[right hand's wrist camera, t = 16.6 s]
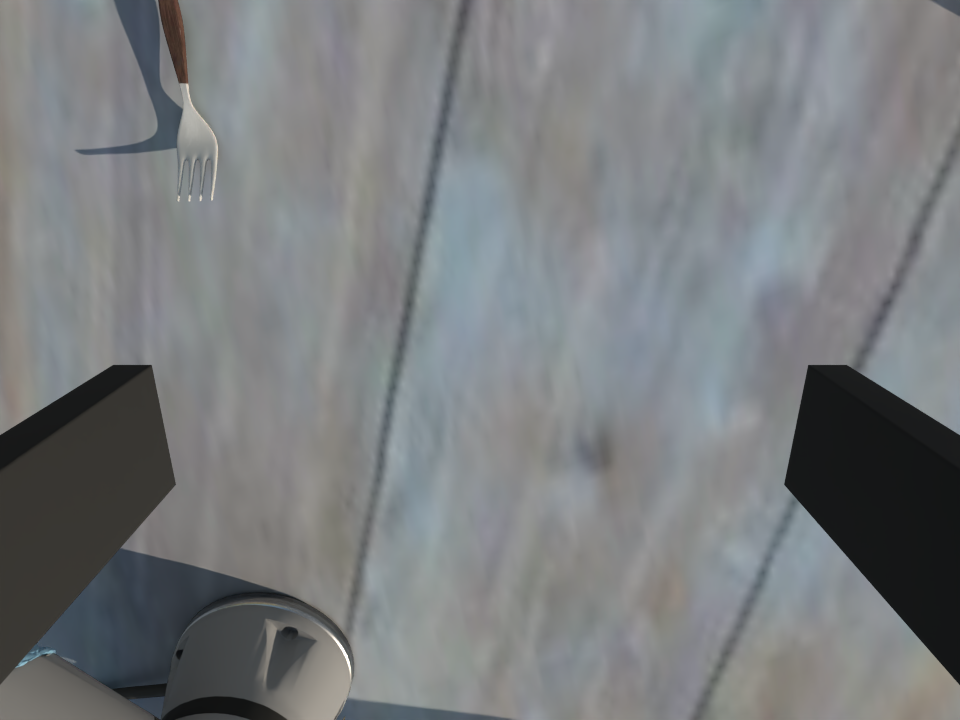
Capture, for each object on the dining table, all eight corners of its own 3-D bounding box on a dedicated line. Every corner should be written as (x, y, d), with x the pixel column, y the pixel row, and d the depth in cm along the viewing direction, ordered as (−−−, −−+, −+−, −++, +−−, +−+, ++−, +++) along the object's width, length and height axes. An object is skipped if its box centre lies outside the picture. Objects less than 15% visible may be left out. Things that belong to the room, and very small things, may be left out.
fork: (178, -93, 34) (160, -106, 32) (227, 197, 40) (214, 200, 38) (132, -91, 34) (112, -105, 32) (188, 198, 40) (173, 202, 38)
